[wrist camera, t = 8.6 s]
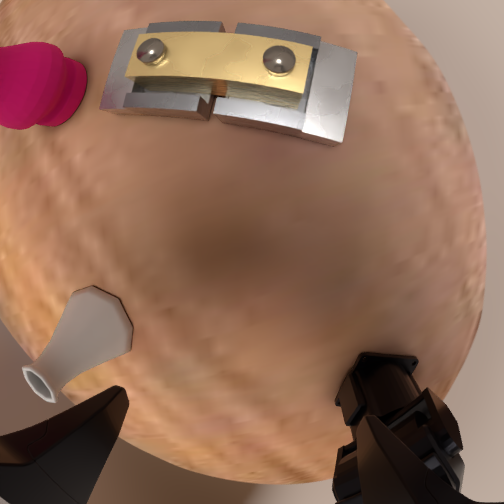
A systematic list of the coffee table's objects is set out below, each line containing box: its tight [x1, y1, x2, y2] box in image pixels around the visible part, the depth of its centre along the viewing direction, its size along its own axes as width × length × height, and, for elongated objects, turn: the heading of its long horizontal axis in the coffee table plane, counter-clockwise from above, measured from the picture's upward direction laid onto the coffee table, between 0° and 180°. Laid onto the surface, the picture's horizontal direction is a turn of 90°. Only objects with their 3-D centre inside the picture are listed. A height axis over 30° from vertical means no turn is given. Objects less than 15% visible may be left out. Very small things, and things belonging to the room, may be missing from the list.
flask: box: [22, 286, 133, 403], centre depth 17 cm, size 7×7×10 cm
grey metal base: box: [99, 21, 357, 147], centre depth 14 cm, size 16×6×3 cm, turn 78°
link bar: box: [125, 32, 313, 109], centre depth 13 cm, size 10×3×4 cm, turn 78°
